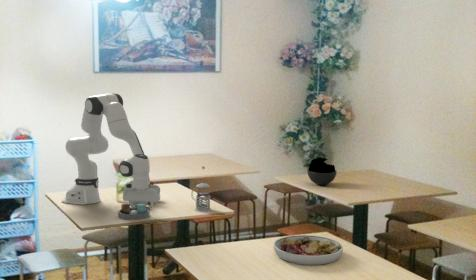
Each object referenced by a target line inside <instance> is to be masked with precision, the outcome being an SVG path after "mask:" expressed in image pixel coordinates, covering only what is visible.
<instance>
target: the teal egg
mask: <svg viewBox="0 0 476 280" xmlns="http://www.w3.org/2000/svg"><path fill="white" fill-rule="evenodd" d="M146 206H147V205H145V204H139V205H137V214H143V213H146V209H147V207H146Z"/></svg>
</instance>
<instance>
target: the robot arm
mask: <svg viewBox="0 0 476 280" xmlns="http://www.w3.org/2000/svg"><path fill="white" fill-rule="evenodd" d="M103 116H105V118H106V122H107V127H108V130H109V131H108V132H109V133H110V134H111V135H112V136H113V137H114V138H116V139H119V140H122V141H124V142H126V143H127V144H128V145H129V148H130V149H131V152H132V157H130V158H126V159H123V160H121V161H120V162H119V165H118V171H119V173H120V175H121V176H122V177H125V178H130V177H132V181H129V182H126V183H125V184H124V188H123V191H122V200H123V201H124V202H125V201H126V202H128V204H129V203H130V205H131V206H130V207H132V209H135V205H133V201H137V202H150V203H149V204H150V205H149V206H148V207H147V209H148V210H149V211H152V210H153V206H154V205H155V204H154V202H155V203H158V202H160V201H161V193H160V192H161V187H160V186H159V185H157V184H153V185H150V181H151V179H150V172H151V171H150V168H151V167H150V166H151V165H150V160H149V159H150V158H149V157H148V156H147V155H146V154H145V152H144V150H143V147H142V144H141V142H140V139H139V137H138V135H137V132H135V130H134V129H133V128H132V127H131V125H130V122H129V120H128V116H127V114H126V110H125V108H124V101H123V97H122V96H121V95H120V94H119V93H113V92H112V93H102V94H98V95H97V94H96V95H91V96H88V97H87V98H85V102H84V109H83V113H82V119H81V124H80V127H81V129H82V131H83V132H85V133H86V134H87V136H75V137H71V138H69V139H67V140H66V142H65V150H66V153H67V154H68V155H69V156H71V157H72V158H73V159H74V161H75V162H76V166H77V175H78V176H77V178H75V180H74V181H73V182H75V184H73V186H71V187H70V188H69V189H68V190H67V191H66V192H65V197H64V198H63V199H61V203H63V204H64V203H65V204H72V205H73V204H74V205H90V204H96V203H100V202H101V200H102V199H101V196H100V191H99V177H98V165H97V163H96V162H94V161H93V160H91V159H90V158H89V156H90V155H99V154H102V153H105V152H107V150H108V149H109V141H108V139H107V137H106V136H104V135H103V133H102V121H103Z"/></svg>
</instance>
